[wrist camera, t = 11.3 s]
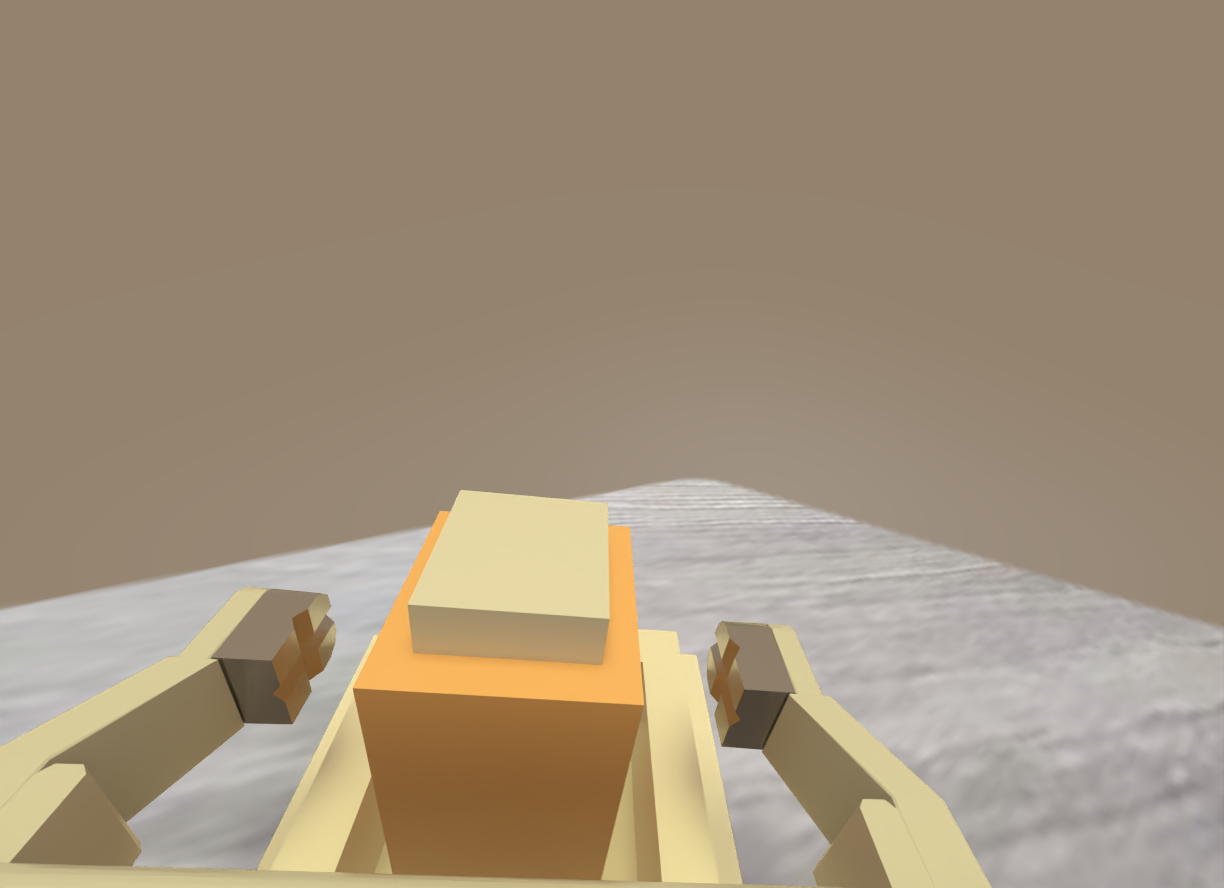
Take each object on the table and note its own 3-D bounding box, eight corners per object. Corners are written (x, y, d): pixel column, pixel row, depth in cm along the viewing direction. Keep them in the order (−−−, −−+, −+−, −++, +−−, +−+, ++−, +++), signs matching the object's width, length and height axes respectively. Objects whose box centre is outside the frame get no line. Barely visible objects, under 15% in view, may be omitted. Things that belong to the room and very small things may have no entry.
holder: (60, 1319, 7) (-86, 1314, 6) (377, 652, 18) (364, 573, 16) (805, 1290, 8) (898, 1279, 6) (691, 671, 19) (713, 598, 17)
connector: (407, 941, 11) (341, 637, 6) (455, 754, 14) (438, 470, 10) (585, 945, 11) (655, 658, 6) (589, 761, 15) (636, 488, 10)
